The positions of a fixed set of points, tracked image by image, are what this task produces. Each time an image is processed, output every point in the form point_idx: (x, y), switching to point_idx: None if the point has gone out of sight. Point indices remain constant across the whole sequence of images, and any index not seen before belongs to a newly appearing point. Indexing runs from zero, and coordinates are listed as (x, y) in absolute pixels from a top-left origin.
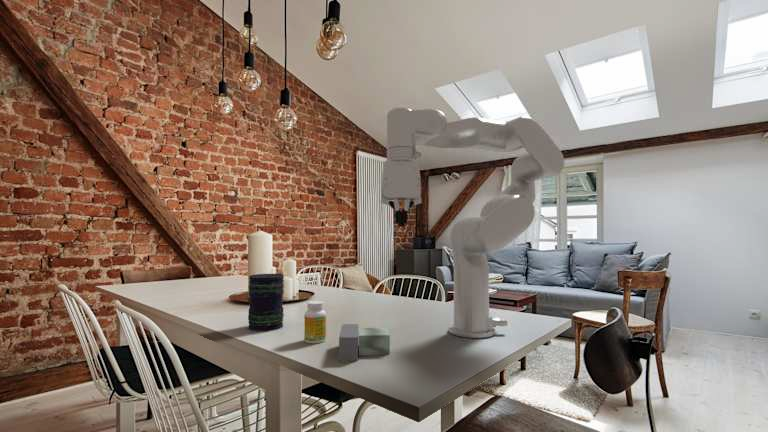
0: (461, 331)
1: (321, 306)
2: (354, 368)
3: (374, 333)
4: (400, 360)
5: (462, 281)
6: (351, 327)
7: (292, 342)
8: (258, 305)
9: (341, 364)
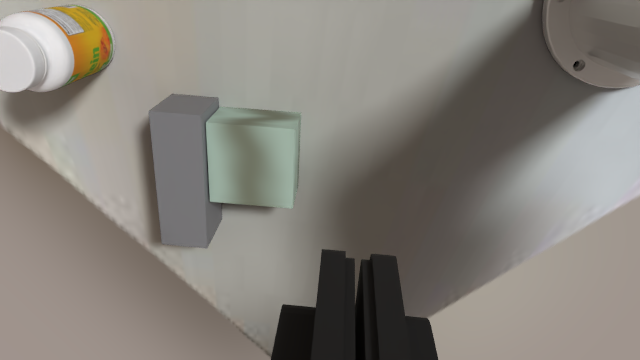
0: (572, 46)
1: (40, 79)
2: (217, 256)
3: (252, 188)
4: (316, 228)
5: None
6: (182, 154)
7: None
8: None
9: None
